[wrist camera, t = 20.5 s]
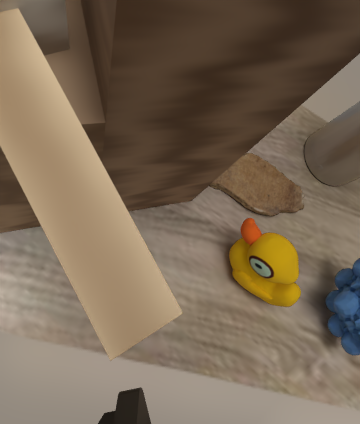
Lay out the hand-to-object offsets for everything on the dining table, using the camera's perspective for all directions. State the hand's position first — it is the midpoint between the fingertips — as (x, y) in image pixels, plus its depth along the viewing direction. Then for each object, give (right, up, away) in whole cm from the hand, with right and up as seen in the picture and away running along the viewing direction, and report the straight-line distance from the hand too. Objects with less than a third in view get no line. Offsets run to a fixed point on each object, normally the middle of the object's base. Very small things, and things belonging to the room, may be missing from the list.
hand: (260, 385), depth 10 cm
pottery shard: (+8, +9, +33) cm, 36 cm away
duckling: (+6, -1, +30) cm, 30 cm away
